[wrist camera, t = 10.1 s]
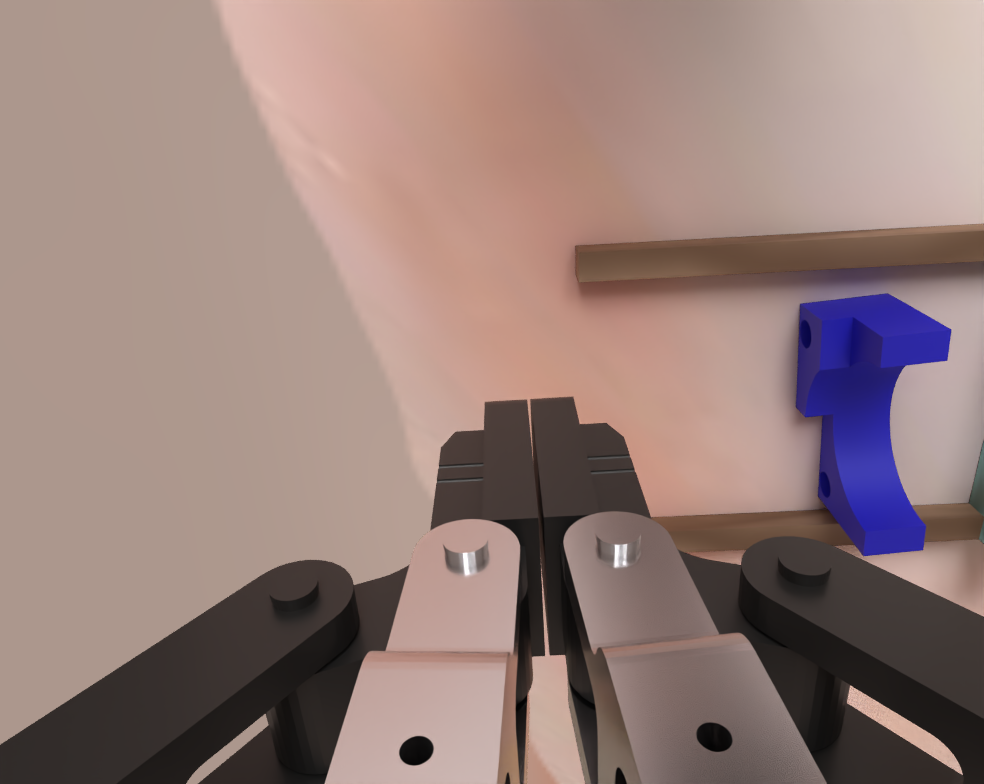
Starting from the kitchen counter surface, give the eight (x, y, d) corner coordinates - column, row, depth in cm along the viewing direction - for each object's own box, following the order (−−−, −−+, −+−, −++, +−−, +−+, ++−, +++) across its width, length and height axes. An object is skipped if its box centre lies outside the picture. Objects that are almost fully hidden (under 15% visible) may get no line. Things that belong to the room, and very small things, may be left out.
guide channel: (575, 245, 37) (589, 276, 32) (1086, 218, 37) (1190, 244, 31) (578, 541, 45) (590, 608, 39) (1006, 522, 44) (1079, 587, 39)
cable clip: (799, 303, 39) (849, 341, 33) (886, 292, 39) (951, 329, 33) (791, 497, 44) (833, 559, 38) (868, 489, 43) (923, 550, 38)
